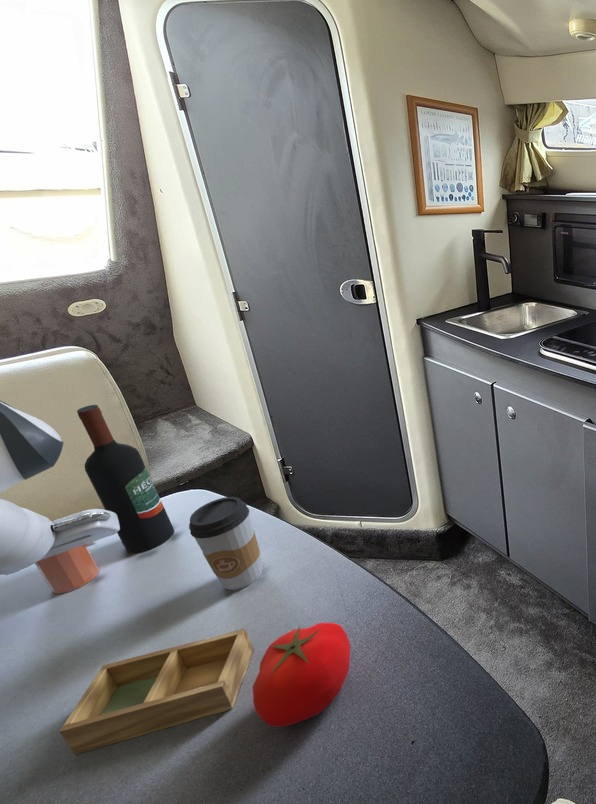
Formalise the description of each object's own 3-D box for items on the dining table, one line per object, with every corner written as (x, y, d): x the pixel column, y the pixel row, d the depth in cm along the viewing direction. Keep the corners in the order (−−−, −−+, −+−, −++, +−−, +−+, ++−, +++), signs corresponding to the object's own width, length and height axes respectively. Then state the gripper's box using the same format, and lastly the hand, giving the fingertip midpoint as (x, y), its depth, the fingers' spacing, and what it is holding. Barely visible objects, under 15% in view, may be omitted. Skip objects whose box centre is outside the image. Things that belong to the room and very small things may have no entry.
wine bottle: (138, 531, 102) (75, 403, 91) (181, 522, 104) (124, 396, 93) (117, 557, 95) (46, 422, 84) (163, 547, 97) (100, 414, 86)
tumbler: (43, 597, 87) (15, 554, 83) (67, 571, 93) (42, 529, 89) (86, 588, 89) (61, 545, 85) (107, 563, 94) (84, 521, 90)
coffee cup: (206, 601, 85) (175, 532, 79) (227, 565, 92) (199, 500, 87) (261, 589, 87) (234, 521, 81) (276, 555, 94) (252, 490, 89)
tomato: (377, 664, 73) (362, 613, 69) (302, 757, 62) (279, 703, 58) (320, 643, 76) (302, 593, 72) (240, 727, 65) (214, 673, 61)
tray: (232, 708, 68) (221, 686, 66) (74, 755, 63) (58, 732, 61) (254, 649, 76) (245, 628, 74) (116, 686, 71) (103, 664, 69)
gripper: (99, 493, 81) (128, 511, 92) (-98, 554, 70) (-38, 566, 80) (107, 528, 79) (135, 542, 90) (-93, 597, 68) (-32, 604, 79)
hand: (53, 554), depth 85 cm, fingers open, 8 cm apart
